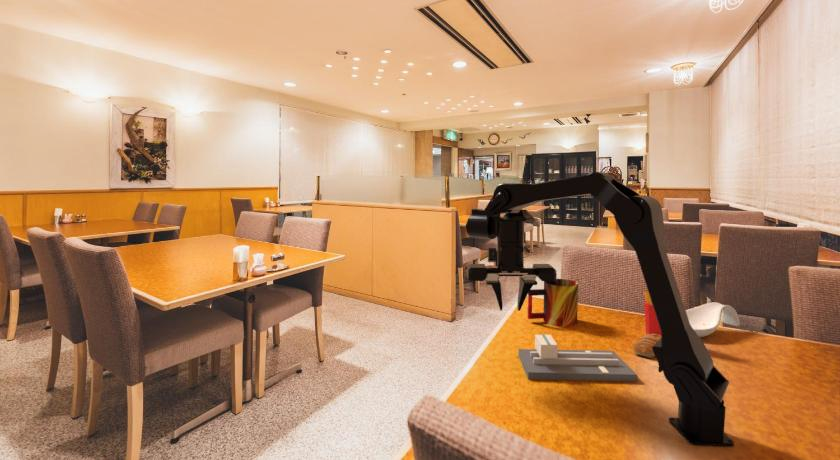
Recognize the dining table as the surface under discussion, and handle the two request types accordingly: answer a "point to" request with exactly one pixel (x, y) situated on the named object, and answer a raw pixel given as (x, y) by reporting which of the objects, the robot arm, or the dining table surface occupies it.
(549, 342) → the block
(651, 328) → the french fries
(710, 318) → the spoon rest
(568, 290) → the mug
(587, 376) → the grey slider panel
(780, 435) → the dining table surface
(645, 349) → the pastry
